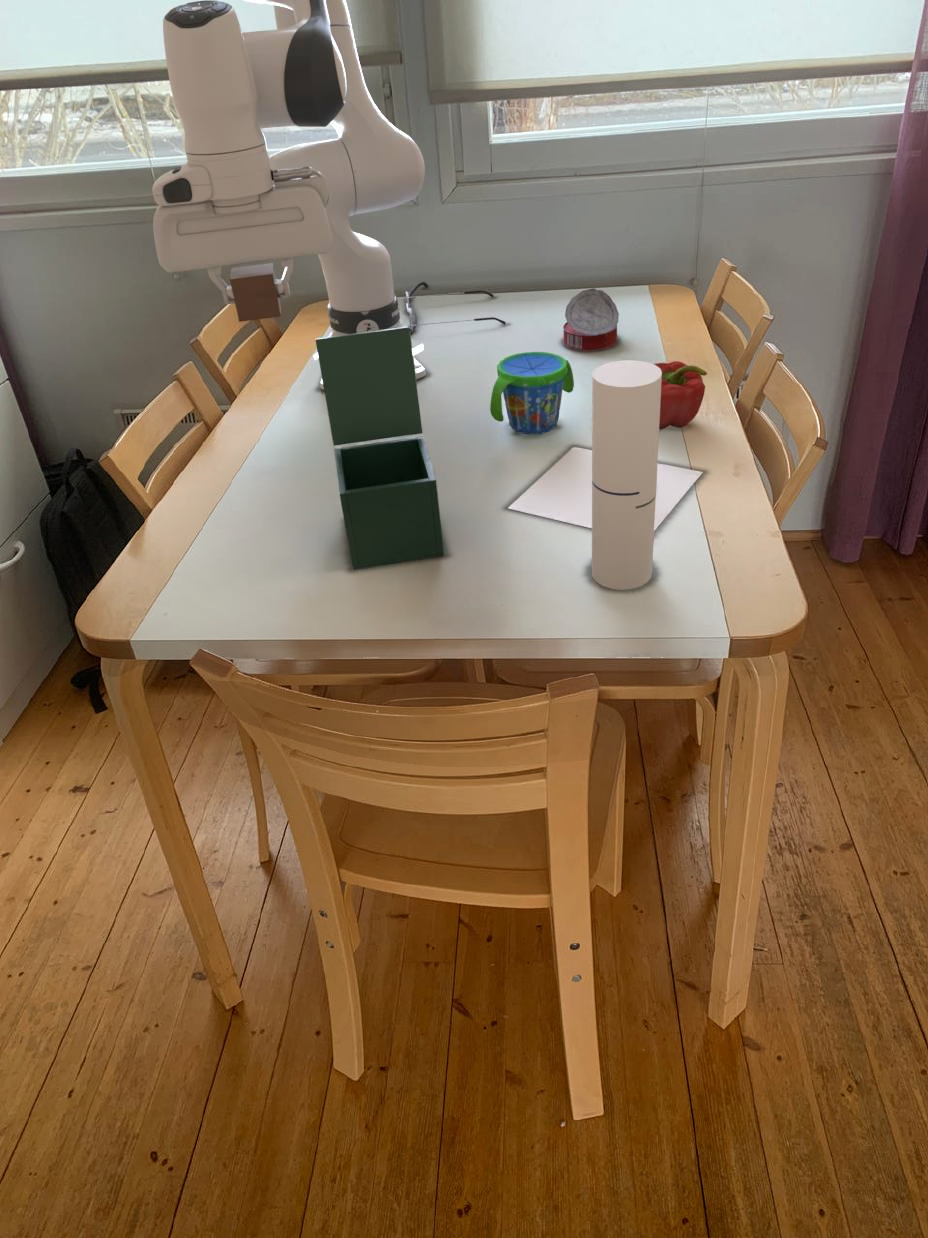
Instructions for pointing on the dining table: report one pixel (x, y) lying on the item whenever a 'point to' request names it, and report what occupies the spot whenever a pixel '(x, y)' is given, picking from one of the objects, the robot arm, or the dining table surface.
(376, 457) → the dark green hollow box
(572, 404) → the dining table surface
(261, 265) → the block
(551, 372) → the snack cup
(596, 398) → the cylindrical container
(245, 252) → the robot arm
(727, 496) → the dining table surface
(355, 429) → the tin lid
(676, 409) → the vegetable
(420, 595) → the dining table surface
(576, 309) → the canned food
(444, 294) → the eyeglasses
